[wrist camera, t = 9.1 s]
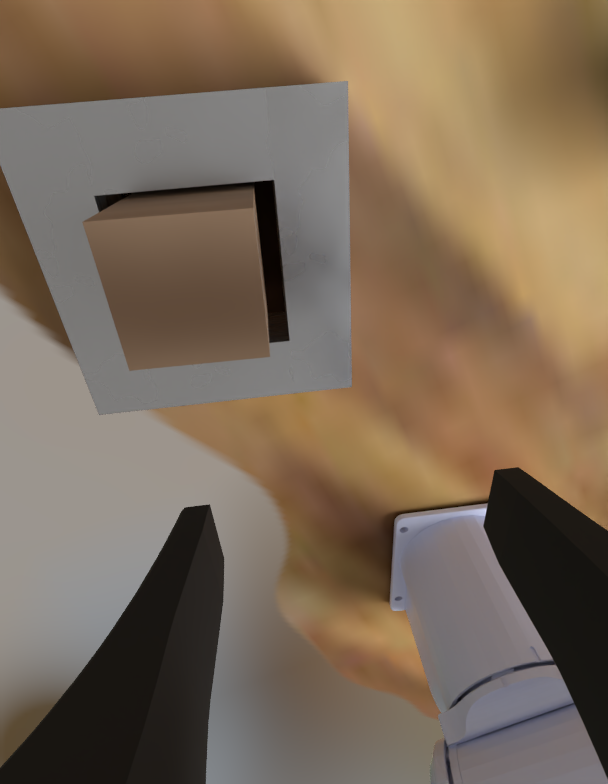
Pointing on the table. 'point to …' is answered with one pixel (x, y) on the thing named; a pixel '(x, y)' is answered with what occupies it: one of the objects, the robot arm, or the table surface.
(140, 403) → the socket block
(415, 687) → the table surface
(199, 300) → the square bit
